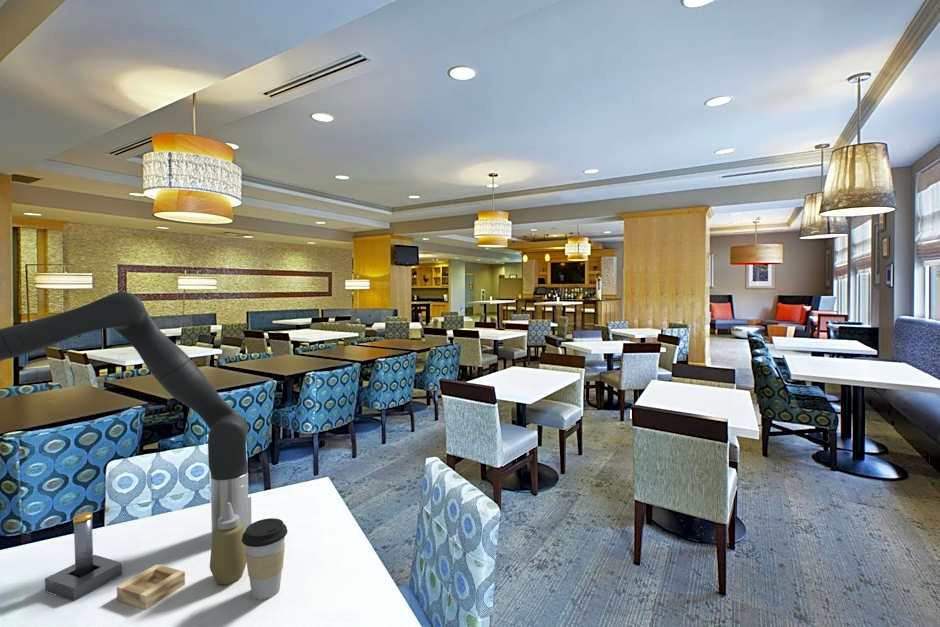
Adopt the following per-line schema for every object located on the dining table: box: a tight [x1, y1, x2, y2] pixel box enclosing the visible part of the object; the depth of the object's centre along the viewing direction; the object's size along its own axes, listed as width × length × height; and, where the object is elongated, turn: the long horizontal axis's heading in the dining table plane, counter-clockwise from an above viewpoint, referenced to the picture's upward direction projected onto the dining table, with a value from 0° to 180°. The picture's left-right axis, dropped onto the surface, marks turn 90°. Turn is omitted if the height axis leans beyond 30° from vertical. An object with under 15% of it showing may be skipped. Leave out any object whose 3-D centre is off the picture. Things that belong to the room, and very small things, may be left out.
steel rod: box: [72, 511, 94, 578], centre depth 104 cm, size 3×3×16 cm
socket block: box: [44, 554, 123, 602], centre depth 105 cm, size 10×10×3 cm
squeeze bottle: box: [209, 502, 247, 585], centre depth 107 cm, size 8×8×18 cm
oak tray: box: [116, 563, 186, 610], centre depth 102 cm, size 9×9×3 cm
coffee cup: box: [242, 517, 288, 601], centre depth 102 cm, size 9×9×15 cm
